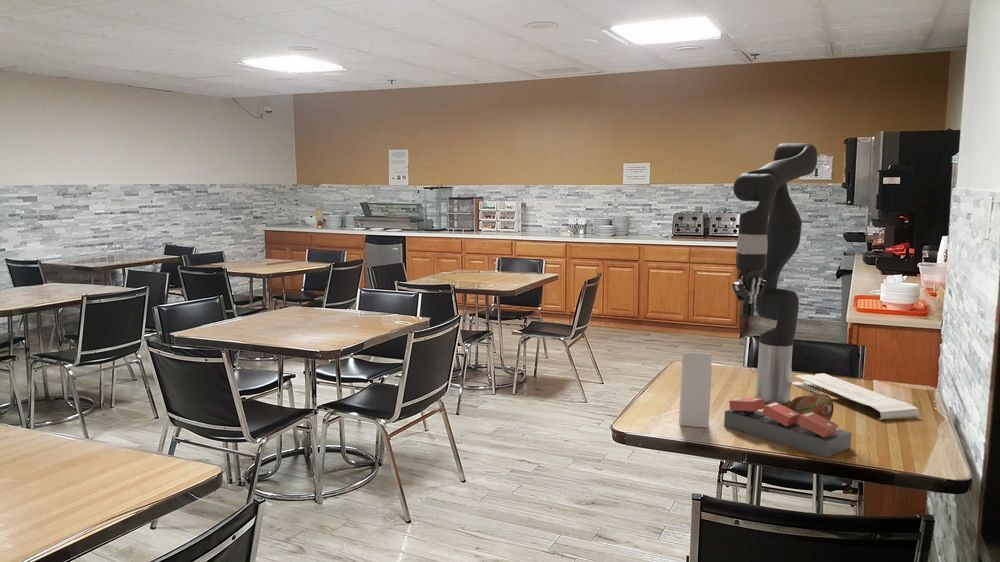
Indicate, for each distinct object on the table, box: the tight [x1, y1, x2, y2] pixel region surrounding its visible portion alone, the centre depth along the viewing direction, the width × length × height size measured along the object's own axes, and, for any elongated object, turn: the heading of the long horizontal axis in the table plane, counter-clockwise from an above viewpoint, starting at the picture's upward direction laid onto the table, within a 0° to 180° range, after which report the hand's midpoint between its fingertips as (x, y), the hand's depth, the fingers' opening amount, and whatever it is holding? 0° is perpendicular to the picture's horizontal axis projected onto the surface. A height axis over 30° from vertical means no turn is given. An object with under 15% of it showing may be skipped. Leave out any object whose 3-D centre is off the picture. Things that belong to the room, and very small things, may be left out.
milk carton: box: [678, 351, 712, 429], centre depth 191 cm, size 7×7×19 cm
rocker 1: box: [728, 397, 766, 411], centre depth 188 cm, size 5×7×2 cm
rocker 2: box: [762, 402, 800, 426], centre depth 181 cm, size 5×7×2 cm
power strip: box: [723, 409, 852, 459], centre depth 183 cm, size 11×28×5 cm, turn 38°
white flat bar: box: [791, 372, 921, 421], centre depth 217 cm, size 12×4×40 cm
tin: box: [787, 393, 835, 421], centre depth 192 cm, size 15×3×8 cm, turn 117°
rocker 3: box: [797, 411, 839, 437], centre depth 173 cm, size 5×7×2 cm
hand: (748, 316), depth 191 cm, fingers closed
